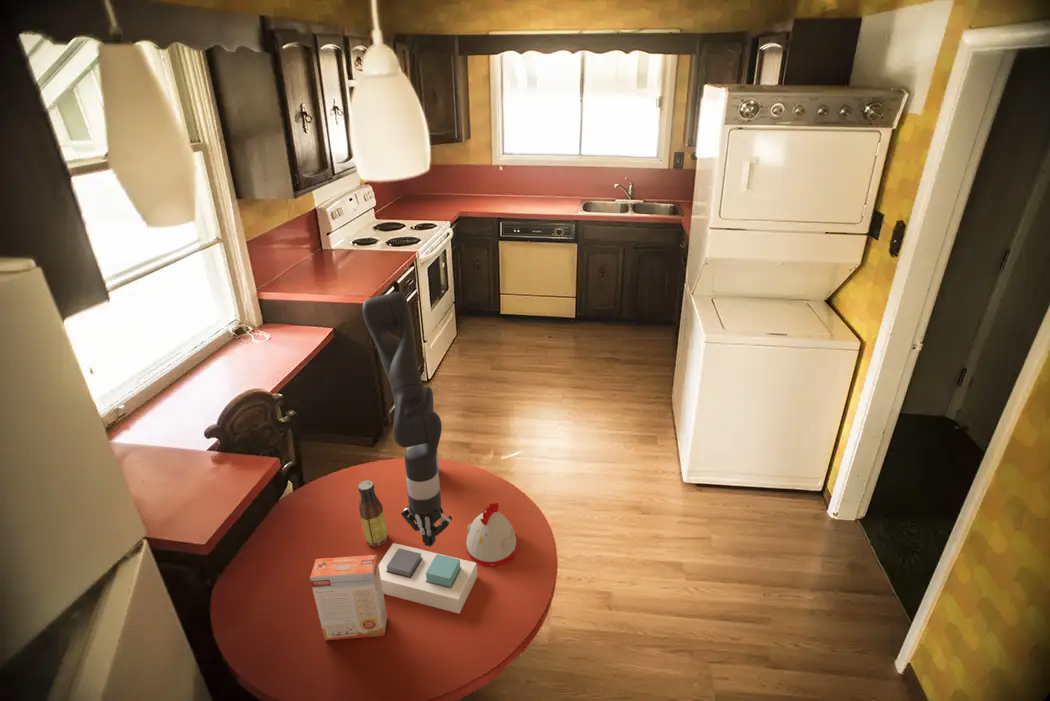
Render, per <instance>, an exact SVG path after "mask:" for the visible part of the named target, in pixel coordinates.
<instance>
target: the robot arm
mask: <svg viewBox="0 0 1050 701" xmlns="http://www.w3.org/2000/svg"><path fill="white" fill-rule="evenodd" d="M409 304H410V303H409V302H408V299H407V298H406V295H405V294H404V293H403V292H401V291H396V292H391V293H386V294H382V295H378V296H377V295H376V296H375V297H374V296H373V297H370V298H367V299H365V300H364V301H363V304H362V308H361V310H362V316H363V320H364V323H365V325H366V327H367V330H368V331H369V334H370V336H371V337H372V339H373V342H374V344H375V347H376V348H377V352H378V354H379V358H380V361H381V364H382V367H383V370H384V372H385V374H386V377H387V380H388V382H389V385H390V388H391V393H392V396H393V403H394V415H393V425H392V426H393V427H392V435H393V436H392V437H393V440H394V442H395V443H396V444H397V445H398V446H399V447H401V448H406V453H405V454H404V464H405V465H404V466H405V474H406V481H405V482H406V483H405V484H406V491H407V493H406V494H407V500H408V506H405V508H404V509H403V511H401V516H402V517H403V519H404V520H405V521H406V522H407V523H408V525H409V526H411V527H410V528H412V529H413V530H414V531H415V532H419V533H420V534H421V538H422V543H424V546H427V547H430V548H431V547H432V546H433V545H434V544H435V542H436V540H437V539H436V537H437V536H439V535H440V534H441V533H442V532H444V530H445V529H447V527H448V526H449V525H450V523H451V522H452V521H453V517H452V516H451V515H448V516H446V515H445V514H444V509H443V508H442V496H441V484H440V483H441V482H440V473H439V471H440V465H439V453H438V448H439V444H440V439H441V436H442V425H443V424H442V421H441V417H440V415H438V414H437V412H436V411H435V410H434V394H433V393H434V392H433V390H432V388H431V387H430V386H429V385H428V386H425V385H423V380H422V377H421V373H420V369H419V366H420V365H419V361H418V356H417V354H418V353H417V347H416V346H417V343H416V338H415V329H414V323H413V318H412V316H413V315H412V313H411V308H410V305H409ZM396 331H400V337H398V336H396V335H394V334H391V333H394V332H396ZM439 520H440V521H439ZM437 521H439V524H438V525H437V526H436V524H437Z"/></svg>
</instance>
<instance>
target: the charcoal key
mask: <svg viewBox="0 0 1050 701" xmlns="http://www.w3.org/2000/svg"><path fill="white" fill-rule="evenodd" d="M421 560H422V559H421V553H417V552H412V551H408V550H404V549H400V548H398V550H397V551H396V553H395V555H394V556H393V558H392V559H391V561H390V562H389V564H388V565H387V572H388V573H392V574H396V575H399V576H403V577H407V578H411V577H412V575H413V574H414V572H415V570H416V569H417V567H418V565H419V564H420V562H421Z"/></svg>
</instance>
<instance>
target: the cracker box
mask: <svg viewBox="0 0 1050 701" xmlns="http://www.w3.org/2000/svg"><path fill="white" fill-rule="evenodd" d="M378 565H379V561H378V556H377V554H371V555H369V554H368V555H356V556H354V555H353V556H341V557H323V558H321V557H320V558H316V559H315V560H314V564H313V567H312V570H311V574H310V577H309V580H310V584H311V589H312V592H313V597H314V602H315V606H316V609H317V612H318V613H317V614H318V618H319V622H320V626H321V630H322V633H323V634H322V635H323V637H324V638H323V639H324V640H325V641H335V640H349V639H362V638H373V637H374V638H375V637H384V636H385V632H386V627H387V626H386V625H387V621H388V614H387V613H388V612H387V608H386V601H385V596H384V595H385V594H383V589H382V583H381V577H380V572H379V566H378Z"/></svg>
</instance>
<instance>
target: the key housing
mask: <svg viewBox="0 0 1050 701" xmlns="http://www.w3.org/2000/svg"><path fill="white" fill-rule="evenodd" d="M398 548H400V549H404V550H408V551H412V552H417V553H421V559H422V560H421V562H420V564H419V565H418V567H417V569H416V570H415V572H414V574H413V575H412V577H411V578H407V577H403V576H399V575H396V574H392V573H388V572H387V565H388V564H389V562H390V561H391V559H392V558H393V556H394V555H395V553H396V551H397V550H398ZM436 554H439V555H443V556H447V557H451V558H455V559H460V569H461V570H460V572H459V574H458V576H457V578H456V580H455V582H454V584H453V586H452V588H451V589H450V588H446V587H443V586H439V585H435V584H431V583H427V579H426V572H427V570H428V568H429V566H430V565H431V563H432V561H433V560H434V558H435V556H436ZM477 564H478V563H476V562H474V561H472V560H471V561H470V560H465V559H461V558H458V557H454V556H449V555H445V554H441V553H438V552H437V553H436V552H433V551H429V550H425V549H421V548H416V547H412V546H408V545H405V544H399V543H395V542H393V543H392V544H391V545H390V547H389V549H388V550H387V552H386V553H385V554H384V556H383V558H382V559H381V560H380V562H378V566H379V572H380V577H381V583H382V589H383V595H387V596H392V597H393V598H394V597H395V598H399V599H402V600H406V601H410V602H414V603H418V604H421V605H425V606H429V607H432V608H436V609H440V610H444V611H448V612H451V613H455V614H461V612H462V609H463V607H464V606H465V603H466V602H467V599H468V598H469V595H470V593H471V591H472V589H473V587H474V585H475V582H476V580H477V578H478V568H477V567H478V566H477Z"/></svg>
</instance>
